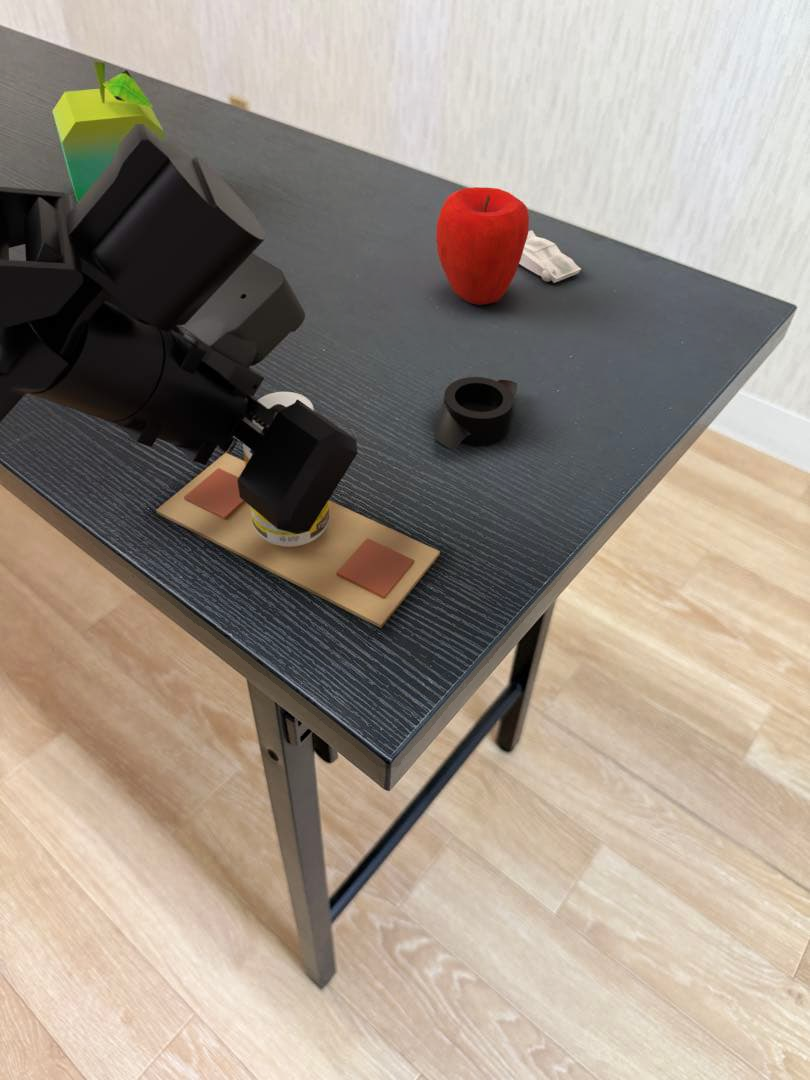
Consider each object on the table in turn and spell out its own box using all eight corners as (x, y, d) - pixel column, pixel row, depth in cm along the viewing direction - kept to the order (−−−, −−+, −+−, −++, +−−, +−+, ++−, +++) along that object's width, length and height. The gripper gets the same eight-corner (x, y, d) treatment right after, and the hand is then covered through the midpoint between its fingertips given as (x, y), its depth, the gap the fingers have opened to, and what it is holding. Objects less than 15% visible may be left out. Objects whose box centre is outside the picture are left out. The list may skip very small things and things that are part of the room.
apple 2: (418, 303, 83) (423, 198, 75) (457, 268, 88) (466, 167, 81) (495, 328, 80) (509, 222, 72) (531, 292, 85) (548, 189, 78)
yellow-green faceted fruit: (83, 223, 93) (45, 80, 82) (72, 189, 99) (36, 51, 88) (177, 210, 96) (153, 70, 85) (161, 178, 102) (137, 43, 91)
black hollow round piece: (548, 439, 68) (553, 411, 66) (440, 465, 65) (442, 437, 63) (507, 388, 73) (511, 361, 71) (405, 410, 70) (406, 382, 68)
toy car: (531, 247, 92) (534, 228, 91) (582, 276, 88) (586, 256, 86) (501, 258, 90) (504, 239, 89) (551, 288, 86) (555, 268, 84)
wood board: (156, 513, 61) (155, 507, 60) (226, 456, 65) (225, 449, 65) (381, 628, 54) (381, 622, 53) (439, 554, 59) (440, 548, 58)
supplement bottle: (328, 551, 57) (324, 437, 49) (248, 550, 57) (232, 435, 49) (331, 497, 61) (328, 384, 53) (257, 496, 60) (243, 382, 53)
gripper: (325, 300, 35) (468, 405, 49) (103, 167, 44) (276, 287, 58) (199, 512, 37) (371, 557, 51) (9, 343, 46) (199, 419, 59)
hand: (302, 444), depth 55 cm, fingers closed on supplement bottle, 5 cm apart
